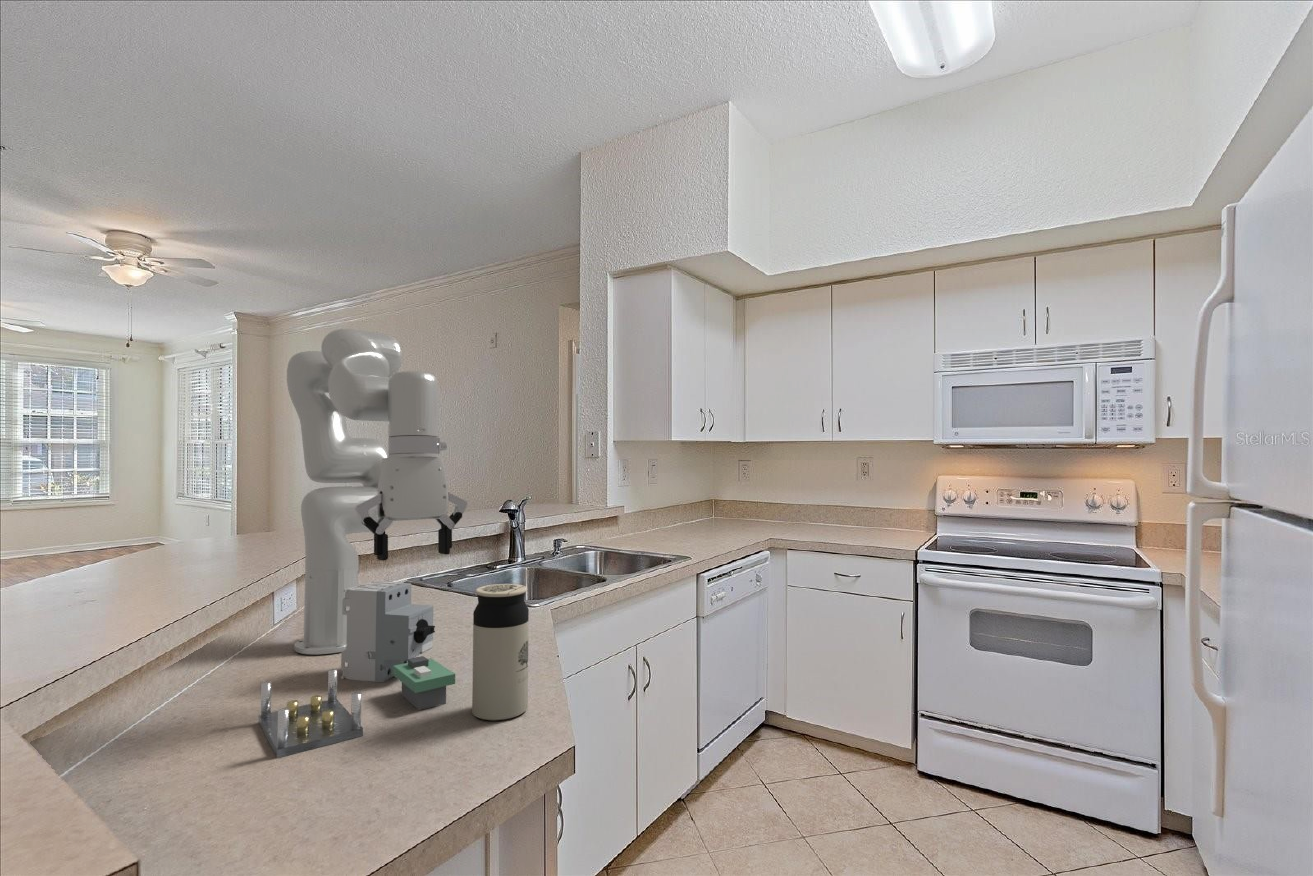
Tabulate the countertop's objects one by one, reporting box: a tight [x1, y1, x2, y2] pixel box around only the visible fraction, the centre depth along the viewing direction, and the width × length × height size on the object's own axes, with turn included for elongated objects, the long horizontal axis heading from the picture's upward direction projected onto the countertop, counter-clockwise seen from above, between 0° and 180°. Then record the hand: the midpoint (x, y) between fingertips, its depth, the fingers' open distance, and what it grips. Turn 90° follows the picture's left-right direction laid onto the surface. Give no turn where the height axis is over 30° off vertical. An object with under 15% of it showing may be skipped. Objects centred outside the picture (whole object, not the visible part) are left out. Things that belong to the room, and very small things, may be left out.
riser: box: [401, 682, 447, 711], centre depth 98 cm, size 8×4×3 cm, turn 40°
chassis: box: [258, 668, 364, 759], centre depth 87 cm, size 14×10×6 cm
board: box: [393, 655, 456, 693], centre depth 99 cm, size 10×6×2 cm, turn 40°
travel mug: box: [471, 583, 530, 722], centre depth 94 cm, size 8×8×18 cm
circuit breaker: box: [340, 581, 436, 683], centre depth 110 cm, size 8×14×15 cm, turn 78°
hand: (414, 556), depth 101 cm, fingers open, 9 cm apart
